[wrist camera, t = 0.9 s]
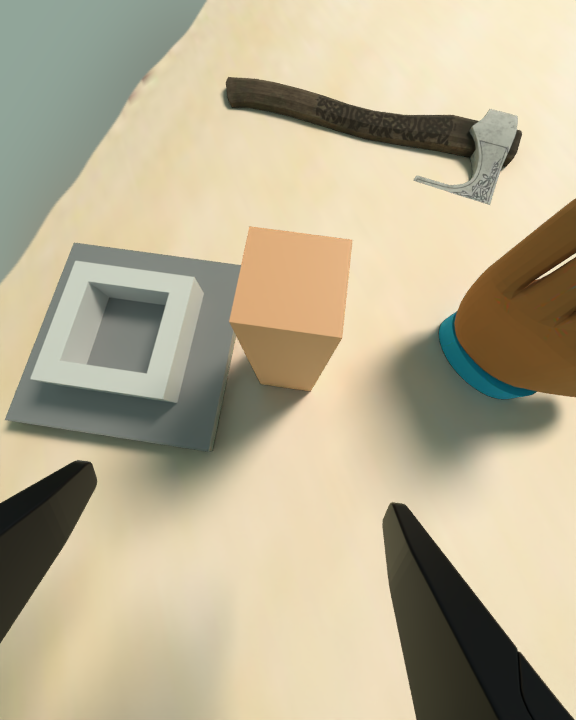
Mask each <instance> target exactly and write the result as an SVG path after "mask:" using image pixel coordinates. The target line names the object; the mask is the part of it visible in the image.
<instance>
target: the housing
mask: <svg viewBox="0 0 576 720" xmlns="http://www.w3.org/2000/svg"><path fill="white" fill-rule="evenodd" d="M240 269H241V265H235V264H228V263H221V262H213V261H206V260H198V259H191V258H184V257H176V256H169V255H162V254H154V253H147V252H139V251H132V250H125V249H117V248H110V247H102V246H95V245H88V244H80V243H74V244H73V247H72V249H71V252H70V254H69V257H68V259H67V262H66V264H65V267H64V270H63V272H62V275H61V277H60V280H59V282H58V285H57V287H56V290H55V293H54V295H53V298H52V300H51V303H50V305H49V308H48V311H47V313H46V316H45V318H44V321H43V323H42V326H41V328H40V331H39V334H38V336H37V339H36V341H35V344H34V346H33V349H32V352H31V354H30V357H29V359H28V362H27V364H26V367H25V369H24V372H23V375H22V377H21V380H20V382H19V385H18V387H17V390H16V393H15V395H14V398H13V400H12V403H11V405H10V408H9V410H8V413H7V416H6V418H5V420H8V421H15V422H21V423H28V424H34V425H41V426H47V427H53V428H60V429H66V430H73V431H79V432H85V433H92V434H98V435H105V436H111V437H117V438H124V439H130V440H137V441H143V442H150V443H156V444H162V445H169V446H175V447H182V448H188V449H194V450H201V451H207V452H209V451H213V446H214V441H215V436H216V431H217V426H218V421H219V417H220V412H221V407H222V402H223V397H224V392H225V387H226V382H227V378H228V373H229V368H230V363H231V358H232V353H233V348H234V343H235V338H236V334H235V333H234V331H233V329H232V327H231V325H230V323H229V320H230V315H231V311H232V306H233V301H234V297H235V292H236V287H237V283H238V278H239V273H240Z"/></svg>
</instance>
